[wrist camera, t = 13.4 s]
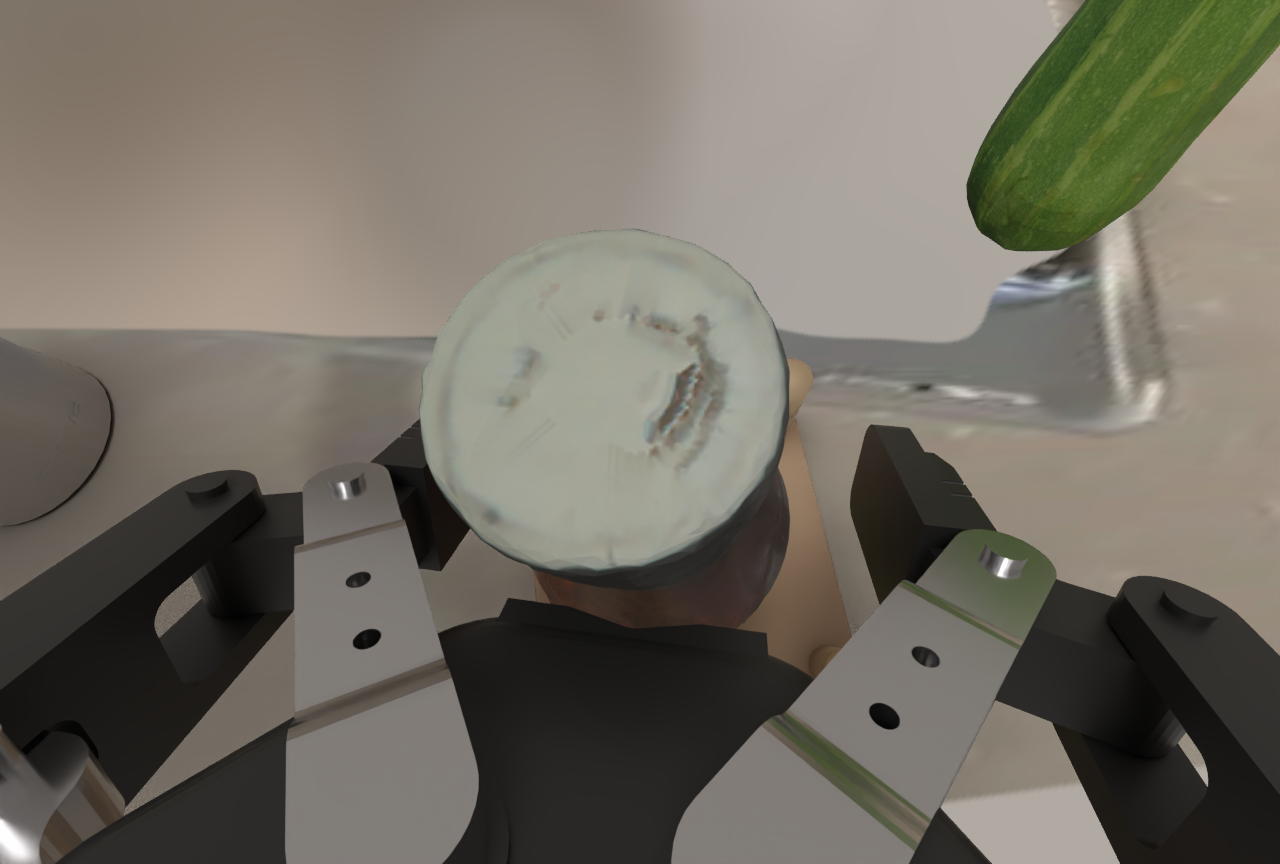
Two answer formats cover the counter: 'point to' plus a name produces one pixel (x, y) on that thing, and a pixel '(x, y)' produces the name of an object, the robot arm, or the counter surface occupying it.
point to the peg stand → (798, 564)
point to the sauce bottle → (617, 427)
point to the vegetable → (1111, 113)
